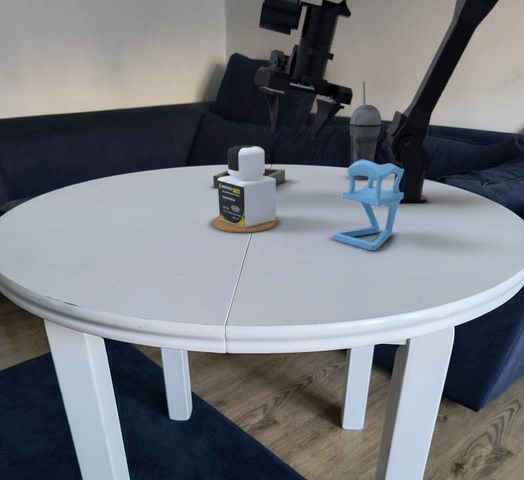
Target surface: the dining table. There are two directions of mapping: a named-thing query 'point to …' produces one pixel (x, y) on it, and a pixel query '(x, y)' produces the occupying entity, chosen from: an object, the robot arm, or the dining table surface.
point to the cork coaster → (233, 228)
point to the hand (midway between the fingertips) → (294, 136)
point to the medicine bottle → (247, 189)
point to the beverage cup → (364, 133)
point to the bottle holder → (273, 173)
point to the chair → (372, 201)
